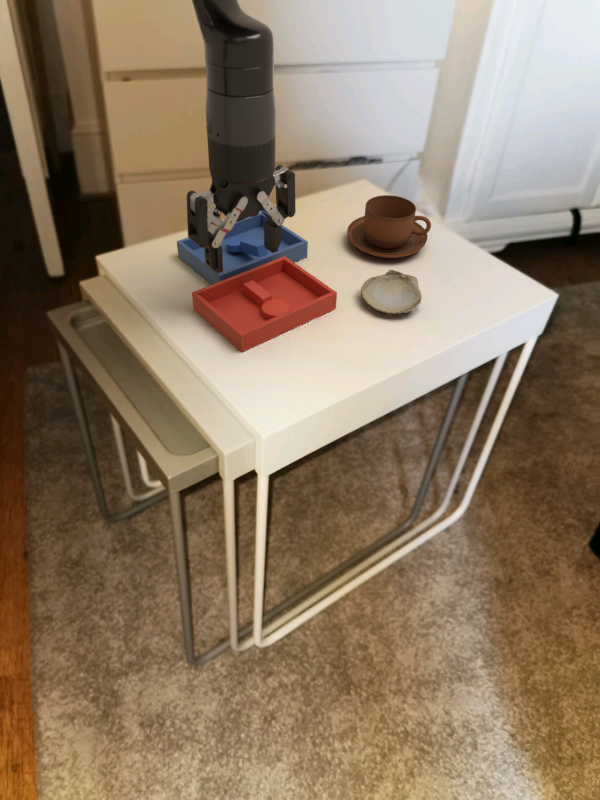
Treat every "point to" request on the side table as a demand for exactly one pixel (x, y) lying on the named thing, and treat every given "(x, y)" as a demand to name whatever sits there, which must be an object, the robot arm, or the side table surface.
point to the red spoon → (265, 300)
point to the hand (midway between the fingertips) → (244, 259)
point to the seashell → (392, 292)
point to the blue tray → (241, 261)
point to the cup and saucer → (389, 228)
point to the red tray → (244, 316)
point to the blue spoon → (247, 246)
